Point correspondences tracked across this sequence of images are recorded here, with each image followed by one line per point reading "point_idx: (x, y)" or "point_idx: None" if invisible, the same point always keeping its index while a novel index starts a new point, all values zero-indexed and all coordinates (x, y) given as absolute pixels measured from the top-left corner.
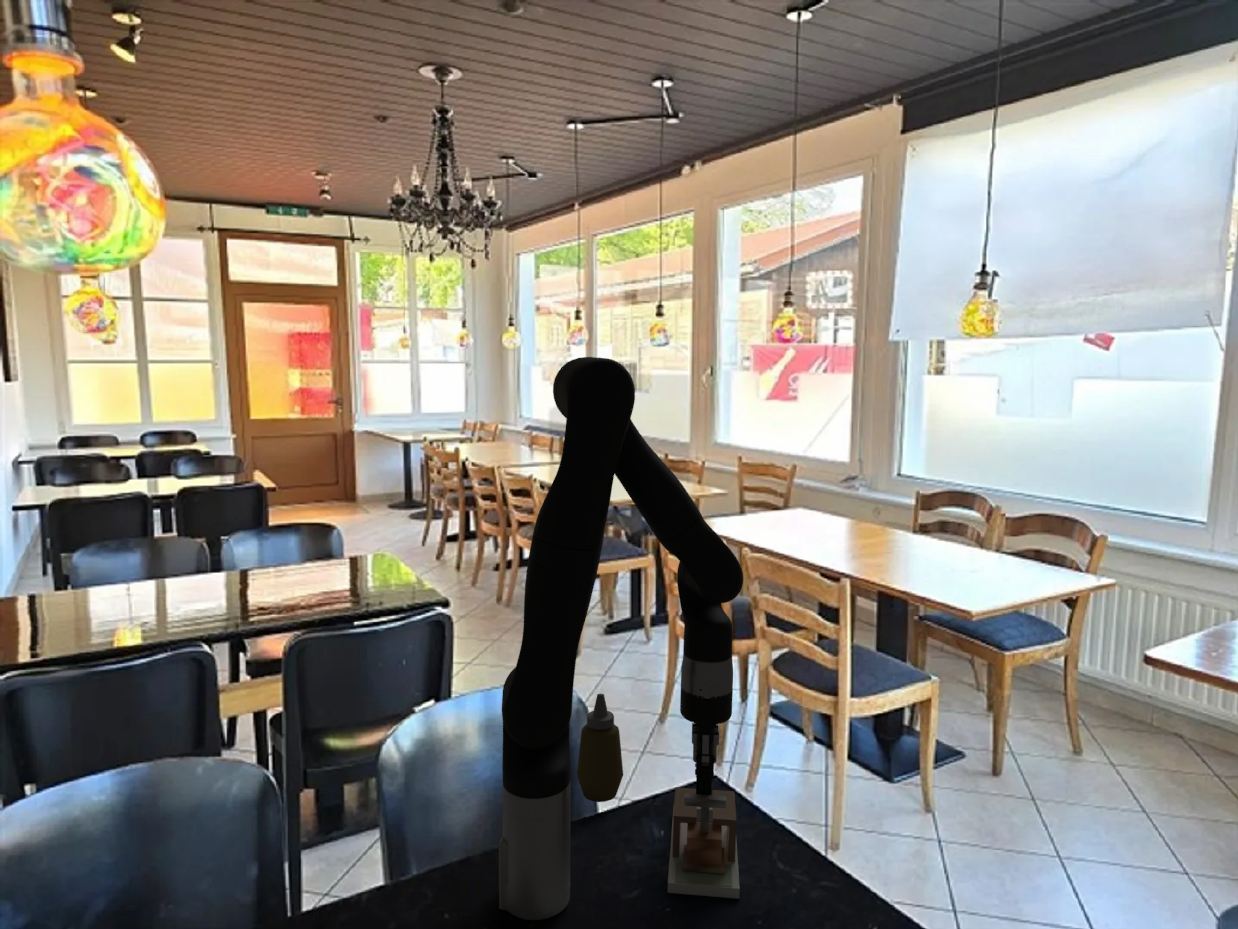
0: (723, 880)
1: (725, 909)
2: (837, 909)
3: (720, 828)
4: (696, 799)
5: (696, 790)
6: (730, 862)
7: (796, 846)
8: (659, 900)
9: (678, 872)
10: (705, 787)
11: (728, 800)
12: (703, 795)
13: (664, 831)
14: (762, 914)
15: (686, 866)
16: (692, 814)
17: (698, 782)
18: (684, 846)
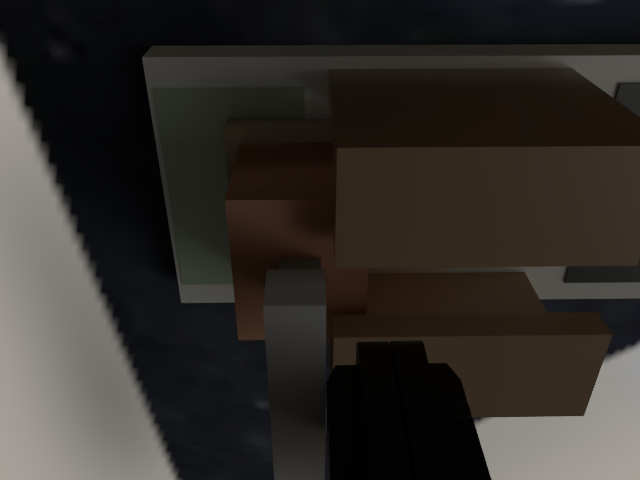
0: (208, 260)
1: (125, 243)
2: (209, 473)
3: (329, 335)
4: (270, 367)
5: (360, 377)
6: None
7: None
8: (98, 13)
9: (219, 100)
10: (328, 457)
11: (501, 395)
12: (315, 406)
13: (591, 6)
14: (136, 333)
15: (226, 142)
16: (361, 250)
17: (364, 437)
18: None
